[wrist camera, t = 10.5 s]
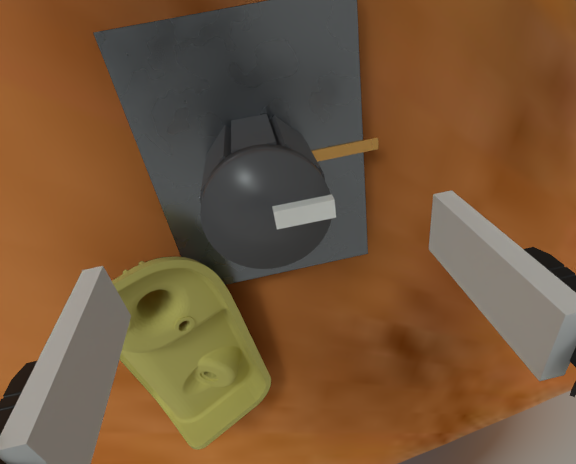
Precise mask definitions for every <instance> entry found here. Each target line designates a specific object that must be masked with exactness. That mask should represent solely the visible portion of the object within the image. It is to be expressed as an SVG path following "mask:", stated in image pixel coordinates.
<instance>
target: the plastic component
mask: <svg viewBox="0 0 576 464" xmlns="http://www.w3.org/2000/svg"><path fill="white" fill-rule="evenodd" d="M112 283H113V285H114V286H115V288H116V290H117V292H118V293H119V295H120V297H121V299H122V301H123V302H124V304H125V306H126V308H127V309H128V311H129V313H130V315H131V319H130V322H129V326H128V329H127V333H126V337H125V340H124V344H123V348H122V351H121V355H120V360H121V362H122V363H123V364H124V365H125V366H126V367H127V368H128V369H129V370H130V372H131V373H132V374H133V375H134V376H135V377H136V378H137V379H138V380H139V381H140V383H141V384H142V385H143V386H144V387H145V388H146V389H147V390H148V391H149V393H150V394H151V395H152V396H153V397H154V398H155V400H156V401H157V402H158V403H159V405H160V406H161V407H162V408H163V410H164V411H165V412H166V414H167V415H168V416H169V418H170V419H171V421H172V422H173V423H174V425H175V426H176V428H177V429H178V430H179V432H180V433H181V435H182V436H183V437H184V439H185V440H186V442H187V443H188V444H189V445H190V446H191V447H192V448H193V449H198V450H199V449H202V448H205V447H206V446H207V445H209V444H210V443H211V442H212V441H214V440H215V439H216V438H217V437H219V436H220V435H221V434H222V433H224V432H225V431H226V430H227V429H229V428H230V427H231V426H232V425H233V424H235V423H236V422H237V421H238V420H240V419H241V418H242V417H243V416H245V415H246V414H247V413H248V412H250V411H251V410H252V409H253V408H254V407H256V406H257V405H258V404H259V403H260V402H261V401H262V400H263V399H264V397H265V396H266V394H267V393H268V391H269V388H270V385H271V377H270V375H269V373H268V371H267V369H266V366H265V364H264V362H263V360H262V358H261V356H260V354H259V352H258V350H257V348H256V345H255V343H254V341H253V339H252V337H251V335H250V333H249V331H248V329H247V327H246V324H245V322H244V320H243V318H242V316H241V314H240V312H239V310H238V308H237V306H236V304H235V302H234V300H233V298H232V296H231V294H230V292H229V290H228V289H227V287H226V286H225V284H224V283H223V281H222V280H221V279H220V277H219V276H218V275H217V274H216V273H215V272H214V271H213V270H211V269H210V268H209V267H207V266H206V265H204V264H202V263H200V262H198V261H196V260H193V259H190V258H186V257H162V258H157V259H153V260H150V261H148V262H144V261H141V262H139V265H138V266H135V267H133V268H132V269H130V270H124V271H123V274H122V275H121V276H119V277H118V278H116V279H114V280H113V281H112Z"/></svg>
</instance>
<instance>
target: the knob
mask: <svg viewBox="0 0 576 464" xmlns="http://www.w3.org/2000/svg"><path fill="white" fill-rule="evenodd" d="M200 202H201V211H200V216H201V224H202V228H203V231H204V233H205V235H206V237H207V239H208V241H209V242H210V244H211V245H212V246H213V247H214V249H215V250H216V251H217V252H219V253H220V254H221V255H222V256H224V257H225V258H226V259H228V260H230V261H232V262H234V263H236V264H239V265H241V266H245V267H249V268H255V269H272V268H279V267H283V266H287V265H289V264H292V263H294V262H296V261H298V260H300V259H302V258H304V257H305V256H307V255H308V254H309V253H311V252H312V251H313V250H314V249H315V248H316V247H317V246H318V245H319V244H320V242H321V241H322V240H323V238H324V237H325V235H326V233H327V231H328V229H329V226H330V223H331V219H332V218H336V210H335V200H334V198H333V196H332V194H330V191H329V188H328V186H327V184H326V182H325V177H324V173H323V171H322V169H321V167H320V166H319V164H318V162H317V160H316V158H315V157H314V155H313V153H312V151H311V149H310V148H309V146H308V144H307V142H306V141H305V139H304V137H303V135H302V134H300V133H299V132H297V131H296V130H294V129H293V128H292V127H290V126H289V125H287V124H286V123H285V122H283V121H282V120H280V119H279V118H277V117H276V116H275V115H274V116H273V117H272V119H271V120H270V122H269V119H268V116H267V114H262V115H257V116H251V117H246V118H241V119H236V120H231V128H229V127H228V126H226V125H224V127H223V129H222V130H221V132H220V133H219V135H218V137H217V138H216V140H215V141H214V143H213V145H212V146H211V148H210V149H209V151H208V153H207V155H206V161H205V167H204V173H203V179H202V185H201V193H200Z"/></svg>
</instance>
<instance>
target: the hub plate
mask: <svg viewBox="0 0 576 464" xmlns="http://www.w3.org/2000/svg"><path fill="white" fill-rule="evenodd" d="M94 36H95V38H96V41H97V43H98V46H99V49H100V51H101V54H102V56H103V59H104V61H105V64H106V66H107V69H108V71H109V74H110V77H111V79H112V82H113V84H114V87H115V89H116V92H117V94H118V97H119V100H120V102H121V105H122V107H123V110H124V112H125V115H126V117H127V120H128V122H129V125H130V128H131V130H132V133H133V135H134V138H135V140H136V143H137V145H138V148H139V151H140V153H141V156H142V158H143V161H144V163H145V166H146V168H147V171H148V173H149V176H150V179H151V181H152V184H153V186H154V189H155V191H156V194H157V196H158V199H159V202H160V204H161V207H162V209H163V212H164V214H165V217H166V219H167V222H168V224H169V227H170V230H171V232H172V235H173V237H174V240H175V242H176V245H177V247H178V250H179V252H180V255H181V257H186V258H190V259H193V260H196V261H198V262H200V263H202V264H204V265H206V266H207V267H209V268H210V269H211V270H213V271H214V272H215V273H216V274H217V275H218V276H219V277H220V279H221V280H222V281H223V283H224V284H225V285H226V284H231V283H235V282H240V281H245V280H249V279H254V278H258V277H263V276H267V275H272V274H277V273H281V272H286V271H290V270H295V269H299V268H304V267H309V266H313V265H318V264H322V263H327V262H331V261H336V260H341V259H345V258H350V257H354V256H359V255H363V254H368V247H367V223H366V200H365V177H364V154H363V152H367V151H372V150H376V149H378V137H376V138H371V139H366V140H363V131H362V108H361V84H360V61H359V38H358V15H357V0H268V1H263V2H258V3H252V4H247V5H241V6H236V7H230V8H225V9H220V10H214V11H209V12H203V13H198V14H192V15H187V16H182V17H176V18H171V19H165V20H160V21H154V22H149V23H144V24H138V25H133V26H127V27H122V28H116V29H111V30H106V31H100V32H95V33H94ZM262 114H267V116H268V119H269V122H270V120H271V119H272V117H273V116H274V115H275V116H276V117H277V118H279V119H280V120H282V121H283V122H285V123H286V124H287V125H289V126H290V127H292V128H293V129H294V130H296V131H297V132H299V133H300V134H302V135H303V137H304V139H305V141H306V142H307V144H308V146H309V148H310V149H311V151H312V153H313V155H314V157H315V158H316V160H317V162H318V164H319V166H320V167H321V169H322V171H323V173H324V177H325V182H326V184H327V186H328V188H329V191H330V194H332V196H333V198H334V200H335V210H336V218H332V219H331V223H330V226H329V229H328V231H327V233H326V235H325V237H324V238H323V240H322V241H321V242H320V244H319V245H318V246H317V247H316V248H315V249H314V250H313V251H312V252H311V253H309V254H308V255H307V256H305V257H304V258H302V259H300V260H298V261H296V262H294V263H292V264H289V265H287V266H283V267H279V268H272V269H255V268H249V267H245V266H241V265H239V264H236V263H234V262H232V261H230V260H228V259H226V258H225V257H224V256H222V255H221V254H220V253H219V252H217V251H216V250H215V249H214V247H213V246H212V245H211V244H210V242H209V241H208V239H207V237H206V235H205V233H204V231H203V228H202V224H201V216H200V211H201V202H200V193H201V185H202V179H203V173H204V167H205V161H206V155H207V153H208V151H209V149H210V148H211V146H212V145H213V143H214V141H215V140H216V138H217V137H218V135H219V133H220V132H221V130H222V129H223V127H224V125H226V126H228V127H229V128H231V120H236V119H241V118H246V117H251V116H257V115H262Z"/></svg>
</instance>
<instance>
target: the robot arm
mask: <svg viewBox="0 0 576 464" xmlns="http://www.w3.org/2000/svg"><path fill="white" fill-rule="evenodd" d="M429 250H430V251H431V253H432V254H433V255H434V256H435V257H436V258H437V260H438V261H439V262H440V263H441V264H442V266H443V267H444V268H445V269H446V270H447V272H448V273H449V274H450V275H451V276H452V278H453V279H454V280H455V281H456V282H457V284H458V285H459V286H460V287H461V288H462V290H463V291H464V292H465V293H466V294H467V295H468V297H469V298H470V299H471V300H472V301H473V303H474V304H475V305H476V306H477V307H478V309H479V310H480V311H481V312H482V313H483V315H484V316H485V317H486V318H487V319H488V321H489V322H490V323H491V324H492V325H493V327H494V328H495V329H496V330H497V331H498V332H499V334H500V335H501V336H502V337H503V338H504V340H505V341H506V342H507V343H508V344H509V346H510V347H511V348H512V349H513V350H514V352H515V353H516V354H517V355H518V356H519V358H520V359H521V360H522V361H523V362H524V364H525V365H526V366H527V367H528V368H529V369H530V371H531V372H532V373H533V374H534V375H535V377H536V378H537V379H538V380H539V381H542V380H546V379H550V378H554V377H558V376H562V375H565V372H566V370H567V368H568V366H569V364H570V362H571V363H572V364H573V365H574V366H575V367H576V275H575V273H574V272H572V271H571V270H570V269H569V268H567V267H564V265H563V264H562V263H561V262H559V261H558V260H557V259H556V258H554V257H553V256H552V255H550V254H548V253H546V252H543V251H541V250H539V249H537V248H534V247H531V248H527V249H522V248H521V247H520V246H519V245H517V244H516V243H515V242H514V241H512V240H511V239H510V238H509V237H508V236H506V235H505V234H504V233H503V232H502V231H500V230H499V229H498V228H497V227H495V226H494V225H493V224H492V223H491V222H489V221H488V220H487V219H486V218H485V217H483V216H482V215H481V214H480V213H478V212H477V211H476V210H475V209H474V208H472V207H471V206H470V205H469V204H468V203H466V202H465V201H464V200H463V199H461V198H460V197H459V196H458V195H457V194H455V193H454V192H453V191H452V190H451V191H446V192H442V193H437V194H433V204H432V216H431V228H430V240H429ZM130 319H131V315H130V313H129V311H128V309H127V308H126V306H125V304H124V302H123V301H122V299H121V297H120V295H119V293H118V292H117V290H116V288H115V286H114V285H113V283H112V281H111V279H110V277H109V276H108V274H107V272H106V270H105V269H104V267H103V266H100V267H95V268H91V269H86V270H83V271H82V273H81V275H80V277H79V279H78V281H77V283H76V285H75V287H74V289H73V291H72V293H71V295H70V297H69V299H68V301H67V303H66V305H65V307H64V309H63V311H62V313H61V315H60V317H59V319H58V321H57V323H56V325H55V327H54V329H53V331H52V333H51V335H50V337H49V339H48V341H47V343H46V345H45V347H44V349H43V351H42V353H41V355H40V357H39V359H38V361H34V362H30V363H26V364H25V366H24V367H23V368H22V369H21V370H20V371H19V372H18V373H17V374H16V375H15V377H14V378H13V379H12V380H11V382H10V384H9V386H8V388H7V390H6V391H5V393H4V395H3V396H4V398H3V399H1V401H0V464H91V460H92V457H93V453H94V450H95V446H96V442H97V439H98V435H99V431H100V428H101V424H102V420H103V417H104V413H105V409H106V406H107V402H108V399H109V395H110V391H111V388H112V384H113V380H114V377H115V373H116V369H117V366H118V362H119V359H120V355H121V351H122V348H123V344H124V340H125V337H126V333H127V329H128V326H129V322H130ZM575 395H576V381H575V383H574V385H573V388H572V390H571V393H570V396H573V397H575Z"/></svg>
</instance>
